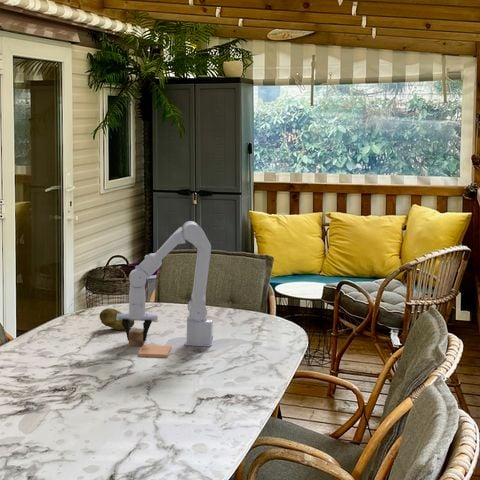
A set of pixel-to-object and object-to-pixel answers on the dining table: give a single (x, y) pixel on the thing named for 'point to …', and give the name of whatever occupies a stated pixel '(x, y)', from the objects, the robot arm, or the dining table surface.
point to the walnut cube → (136, 337)
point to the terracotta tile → (155, 351)
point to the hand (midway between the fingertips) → (136, 340)
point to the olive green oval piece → (112, 319)
